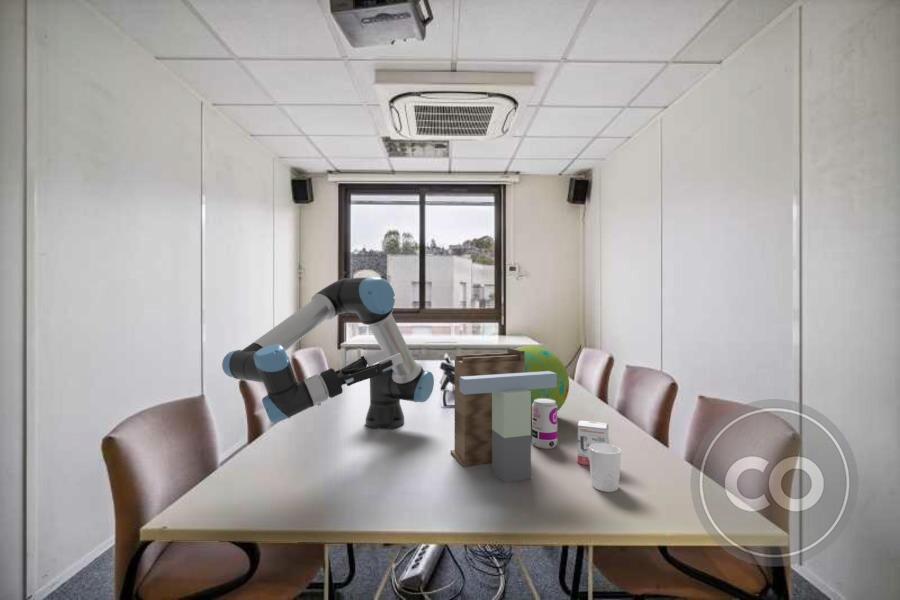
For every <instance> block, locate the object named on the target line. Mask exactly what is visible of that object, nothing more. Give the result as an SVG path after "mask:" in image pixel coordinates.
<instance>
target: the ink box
mask: <svg viewBox="0 0 900 600" xmlns="http://www.w3.org/2000/svg"><path fill="white" fill-rule="evenodd" d="M595 443H605V444H609V424H608V423H607V422H599V421H597V422H596V421H589V420H578V422H577V464H578V465H585V466H590V458H589V446H590V445H591V444H595Z"/></svg>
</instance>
